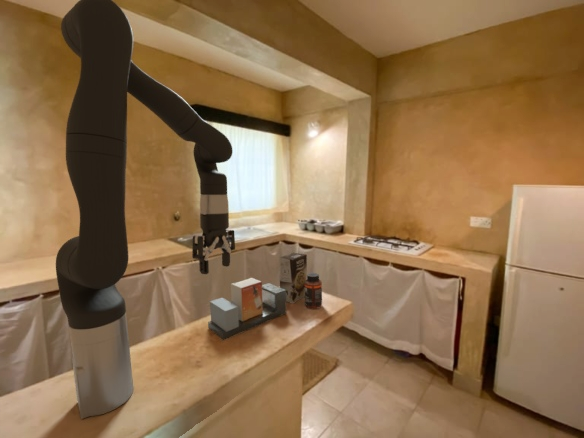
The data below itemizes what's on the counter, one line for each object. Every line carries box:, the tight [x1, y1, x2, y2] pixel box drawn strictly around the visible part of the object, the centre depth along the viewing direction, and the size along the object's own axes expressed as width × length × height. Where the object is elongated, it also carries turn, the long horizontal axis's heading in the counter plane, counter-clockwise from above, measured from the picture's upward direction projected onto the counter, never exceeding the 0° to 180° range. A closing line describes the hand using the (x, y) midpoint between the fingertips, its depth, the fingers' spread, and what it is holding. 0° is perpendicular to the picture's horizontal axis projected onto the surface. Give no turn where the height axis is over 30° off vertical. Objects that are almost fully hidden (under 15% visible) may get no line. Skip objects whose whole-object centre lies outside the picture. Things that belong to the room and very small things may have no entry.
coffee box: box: [279, 252, 308, 304], centre depth 104 cm, size 9×6×16 cm
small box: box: [230, 277, 263, 322], centre depth 87 cm, size 8×6×10 cm
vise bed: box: [207, 282, 287, 341], centre depth 88 cm, size 23×9×8 cm, turn 133°
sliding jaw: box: [209, 297, 239, 332], centre depth 82 cm, size 4×9×6 cm, turn 43°
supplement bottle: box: [304, 272, 323, 310], centre depth 97 cm, size 6×6×11 cm
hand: (215, 269), depth 78 cm, fingers open, 8 cm apart
